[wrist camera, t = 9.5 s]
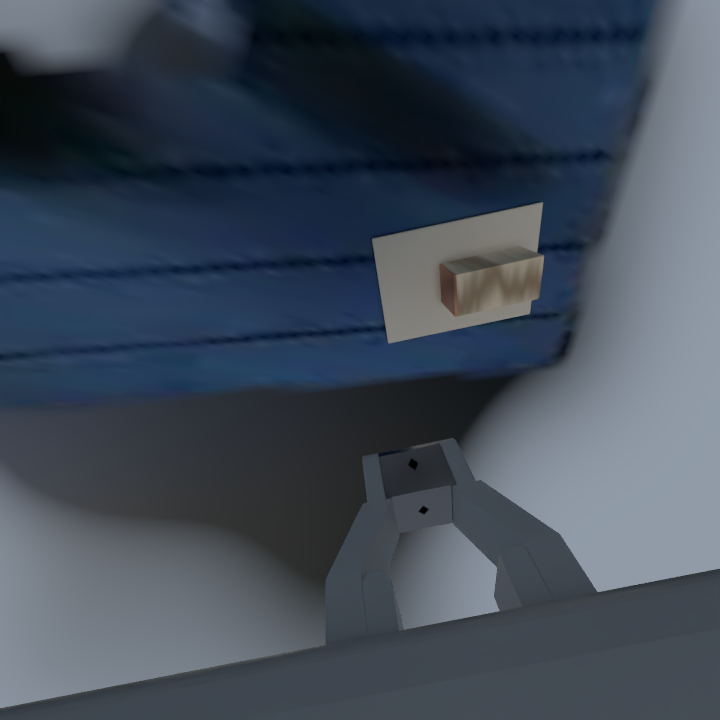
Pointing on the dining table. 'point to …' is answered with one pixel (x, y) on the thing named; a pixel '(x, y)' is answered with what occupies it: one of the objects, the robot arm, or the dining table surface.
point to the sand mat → (422, 275)
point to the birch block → (491, 280)
